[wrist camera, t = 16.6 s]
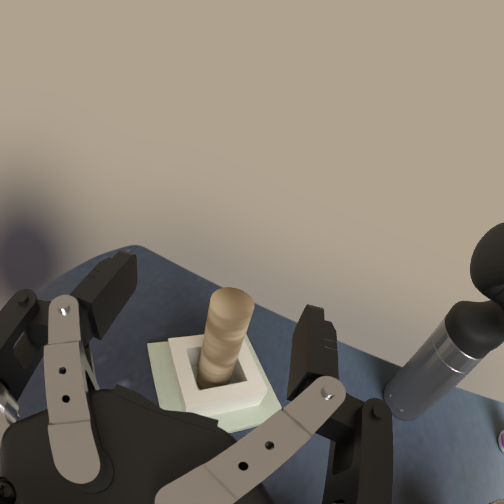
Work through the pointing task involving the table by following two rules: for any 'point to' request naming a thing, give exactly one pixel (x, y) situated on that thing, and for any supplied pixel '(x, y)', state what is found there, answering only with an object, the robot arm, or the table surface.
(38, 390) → the table surface
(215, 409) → the socket
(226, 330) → the peg
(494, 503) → the pillar candle
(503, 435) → the supplement bottle
